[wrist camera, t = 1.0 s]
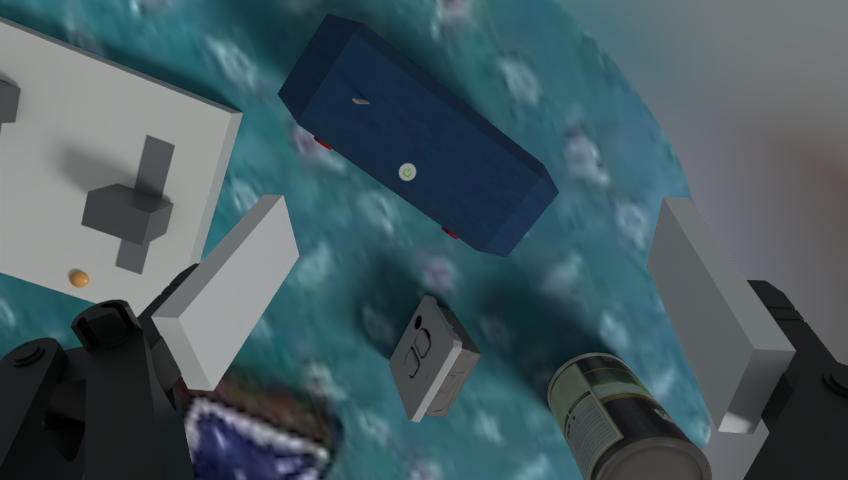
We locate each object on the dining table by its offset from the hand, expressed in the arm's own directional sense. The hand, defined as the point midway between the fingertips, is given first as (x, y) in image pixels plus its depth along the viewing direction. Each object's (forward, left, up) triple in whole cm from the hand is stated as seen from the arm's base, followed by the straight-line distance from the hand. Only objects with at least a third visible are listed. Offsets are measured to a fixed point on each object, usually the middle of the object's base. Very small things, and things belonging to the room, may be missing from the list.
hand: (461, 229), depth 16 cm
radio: (+1, +1, -30) cm, 30 cm away
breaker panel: (-14, +29, -30) cm, 44 cm away
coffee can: (-18, -28, -30) cm, 45 cm away
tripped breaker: (-14, +22, -26) cm, 37 cm away
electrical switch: (-18, -8, -30) cm, 36 cm away
